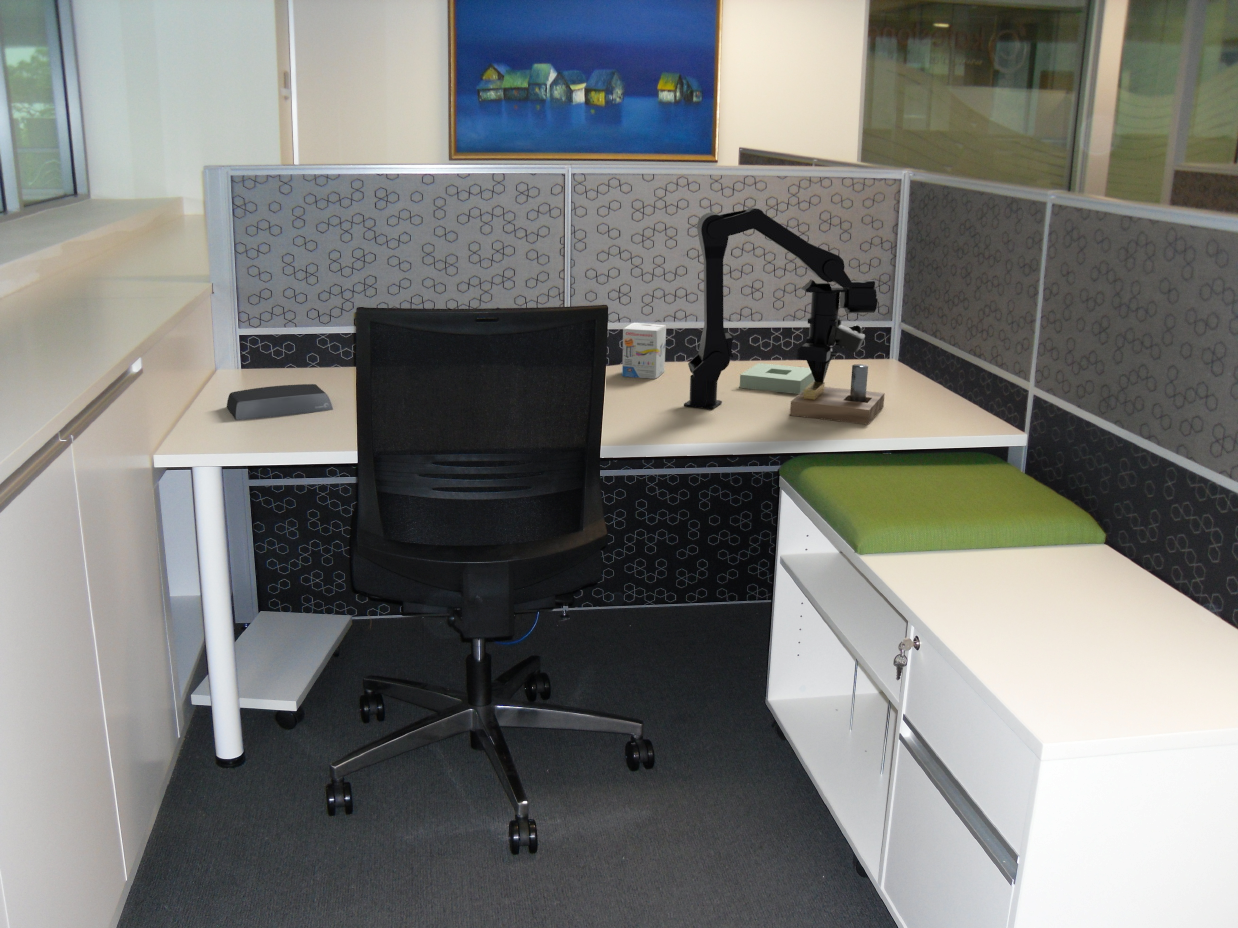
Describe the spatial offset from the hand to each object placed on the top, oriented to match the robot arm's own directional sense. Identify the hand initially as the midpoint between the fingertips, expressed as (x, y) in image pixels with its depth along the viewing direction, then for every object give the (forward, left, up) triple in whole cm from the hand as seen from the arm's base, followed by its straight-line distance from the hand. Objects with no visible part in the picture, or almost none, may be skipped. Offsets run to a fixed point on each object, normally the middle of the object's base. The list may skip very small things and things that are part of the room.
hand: (819, 386), depth 226 cm
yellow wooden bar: (-5, 0, -1) cm, 5 cm away
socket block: (-4, -5, -4) cm, 7 cm away
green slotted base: (+14, +13, -4) cm, 20 cm away
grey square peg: (-4, -9, -4) cm, 11 cm away
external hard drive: (-53, +100, -5) cm, 113 cm away
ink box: (+10, +45, -4) cm, 46 cm away
